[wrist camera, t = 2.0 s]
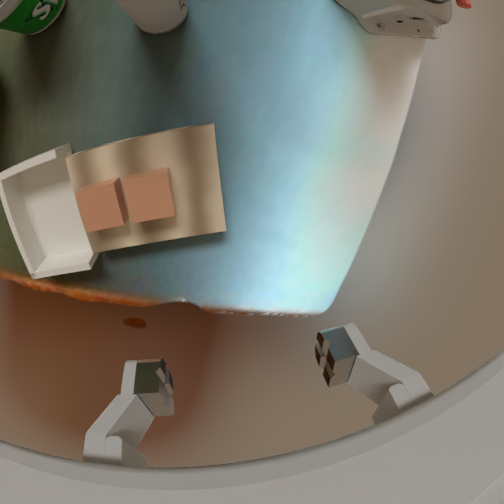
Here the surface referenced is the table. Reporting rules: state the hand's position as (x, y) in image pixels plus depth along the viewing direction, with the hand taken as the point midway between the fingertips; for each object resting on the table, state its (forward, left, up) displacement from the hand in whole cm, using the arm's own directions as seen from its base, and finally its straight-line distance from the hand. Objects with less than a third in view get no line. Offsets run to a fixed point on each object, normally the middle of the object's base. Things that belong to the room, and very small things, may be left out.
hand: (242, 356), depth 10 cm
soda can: (+20, -29, -27) cm, 45 cm away
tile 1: (+13, 0, -24) cm, 27 cm away
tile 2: (+7, 0, -24) cm, 25 cm away
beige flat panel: (+8, 0, -27) cm, 28 cm away
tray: (+23, 0, -27) cm, 35 cm away
